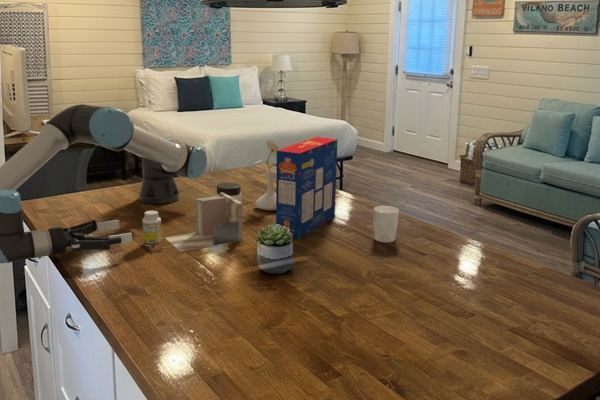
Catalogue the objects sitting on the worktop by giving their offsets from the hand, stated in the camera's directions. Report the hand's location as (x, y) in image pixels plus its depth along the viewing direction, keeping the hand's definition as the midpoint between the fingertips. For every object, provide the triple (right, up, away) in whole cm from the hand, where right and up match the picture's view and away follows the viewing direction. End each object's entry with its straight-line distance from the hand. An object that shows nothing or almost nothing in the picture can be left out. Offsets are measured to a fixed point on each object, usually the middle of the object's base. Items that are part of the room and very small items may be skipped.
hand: (125, 230), depth 181 cm
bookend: (+29, -4, +5) cm, 30 cm away
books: (+24, -1, +14) cm, 27 cm away
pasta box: (+54, 0, +26) cm, 60 cm away
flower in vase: (+41, +6, +45) cm, 61 cm away
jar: (+27, +2, +31) cm, 41 cm away
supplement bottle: (+7, -5, +6) cm, 10 cm away
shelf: (+22, -4, +8) cm, 24 cm away
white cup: (+79, -4, +15) cm, 80 cm away
